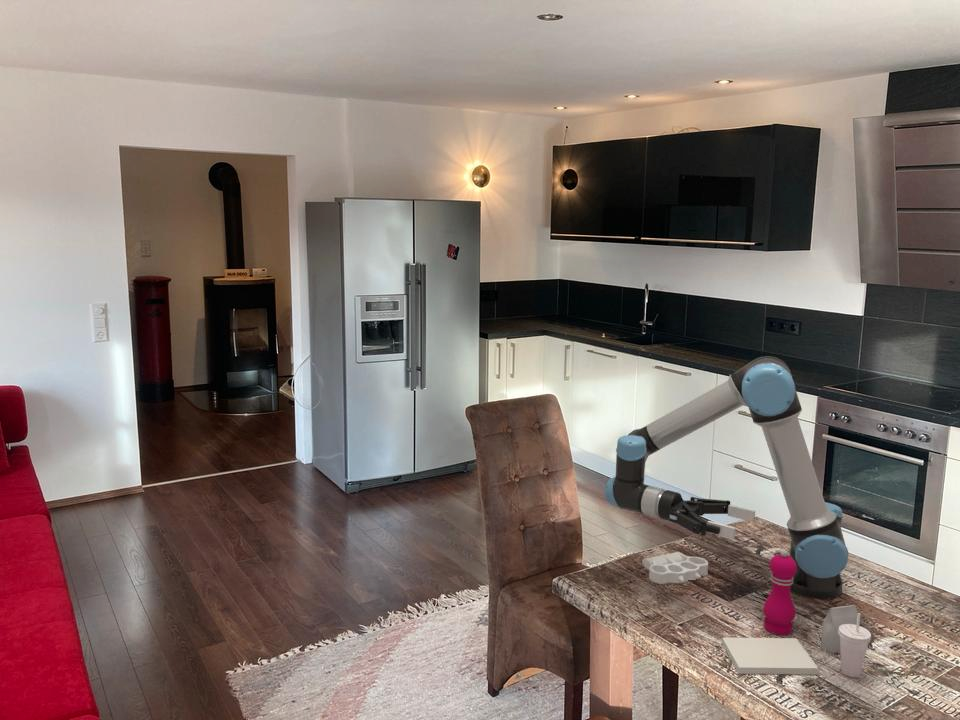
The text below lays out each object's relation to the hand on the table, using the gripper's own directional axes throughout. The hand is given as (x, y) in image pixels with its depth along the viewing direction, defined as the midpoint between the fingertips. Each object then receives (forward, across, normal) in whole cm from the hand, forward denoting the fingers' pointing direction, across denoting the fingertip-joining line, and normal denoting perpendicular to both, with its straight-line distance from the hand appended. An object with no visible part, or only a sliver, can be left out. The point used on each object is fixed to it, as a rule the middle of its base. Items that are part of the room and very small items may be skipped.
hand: (744, 524), depth 187 cm
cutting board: (+12, +14, -24) cm, 30 cm away
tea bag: (+23, 0, -24) cm, 33 cm away
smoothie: (+28, +9, -24) cm, 38 cm away
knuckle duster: (-22, -12, -24) cm, 35 cm away
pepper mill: (+10, 0, -24) cm, 26 cm away
